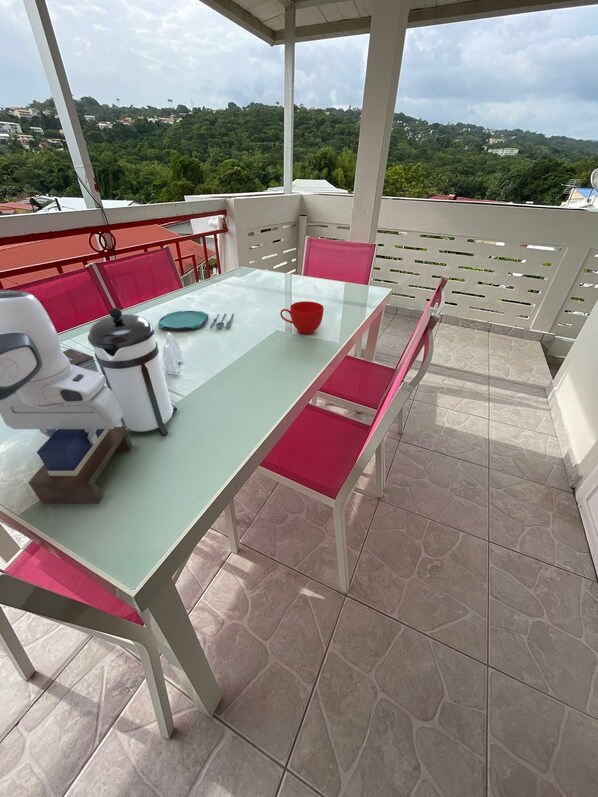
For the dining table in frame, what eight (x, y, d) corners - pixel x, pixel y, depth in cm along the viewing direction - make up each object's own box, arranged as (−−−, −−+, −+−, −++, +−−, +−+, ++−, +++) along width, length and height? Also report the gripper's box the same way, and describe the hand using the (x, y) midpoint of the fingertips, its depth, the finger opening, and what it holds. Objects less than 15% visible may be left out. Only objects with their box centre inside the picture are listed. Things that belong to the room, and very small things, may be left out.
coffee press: (195, 421, 85) (170, 307, 68) (132, 451, 75) (85, 328, 58) (164, 394, 95) (136, 289, 78) (106, 418, 86) (59, 304, 69)
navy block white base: (76, 476, 62) (63, 452, 58) (49, 476, 62) (35, 452, 58) (108, 430, 72) (99, 409, 69) (86, 430, 72) (75, 408, 69)
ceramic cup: (282, 324, 139) (281, 300, 133) (322, 325, 138) (323, 301, 133) (279, 336, 128) (278, 312, 122) (322, 338, 128) (324, 313, 122)
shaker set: (171, 358, 113) (164, 328, 106) (184, 357, 113) (177, 327, 107) (165, 376, 103) (156, 344, 97) (179, 375, 103) (171, 343, 97)
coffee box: (69, 411, 88) (43, 357, 78) (92, 399, 92) (70, 347, 83) (92, 422, 84) (67, 366, 75) (114, 409, 89) (93, 355, 80)
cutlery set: (169, 314, 147) (168, 309, 146) (236, 315, 146) (235, 310, 145) (152, 332, 130) (150, 327, 129) (227, 333, 130) (227, 328, 129)
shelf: (42, 503, 64) (27, 482, 60) (85, 446, 77) (75, 426, 73) (99, 503, 64) (88, 482, 60) (132, 446, 77) (125, 426, 73)
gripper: (-28, 393, 55) (13, 453, 63) (96, 393, 55) (121, 453, 63) (0, 374, 60) (34, 431, 68) (113, 374, 60) (134, 431, 68)
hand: (77, 442), depth 65 cm, fingers closed on navy block white base, 5 cm apart
